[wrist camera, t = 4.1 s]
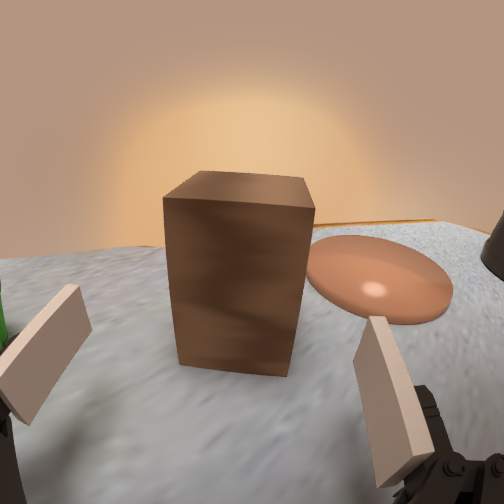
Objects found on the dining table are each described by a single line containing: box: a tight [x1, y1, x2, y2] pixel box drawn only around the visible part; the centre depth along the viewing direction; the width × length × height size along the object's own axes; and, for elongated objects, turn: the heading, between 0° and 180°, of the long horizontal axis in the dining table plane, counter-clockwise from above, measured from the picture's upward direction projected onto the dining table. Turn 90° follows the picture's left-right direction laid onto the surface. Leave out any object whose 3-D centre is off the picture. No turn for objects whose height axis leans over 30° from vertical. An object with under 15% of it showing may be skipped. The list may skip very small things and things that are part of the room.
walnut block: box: [163, 171, 315, 377], centre depth 19 cm, size 7×7×11 cm
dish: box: [306, 235, 453, 325], centre depth 30 cm, size 17×17×1 cm
